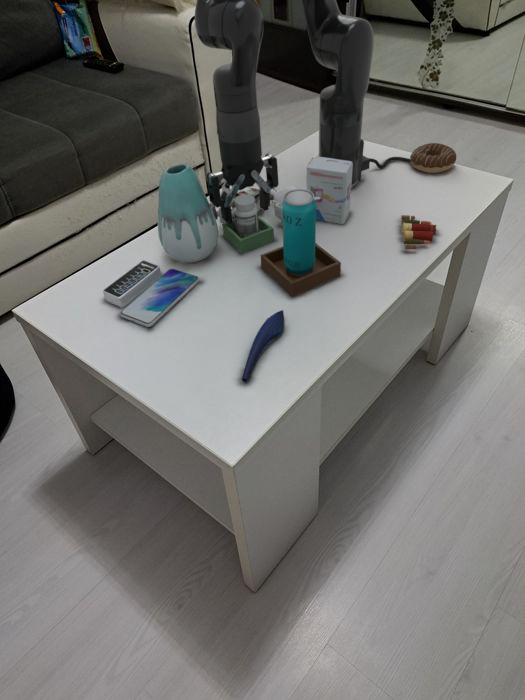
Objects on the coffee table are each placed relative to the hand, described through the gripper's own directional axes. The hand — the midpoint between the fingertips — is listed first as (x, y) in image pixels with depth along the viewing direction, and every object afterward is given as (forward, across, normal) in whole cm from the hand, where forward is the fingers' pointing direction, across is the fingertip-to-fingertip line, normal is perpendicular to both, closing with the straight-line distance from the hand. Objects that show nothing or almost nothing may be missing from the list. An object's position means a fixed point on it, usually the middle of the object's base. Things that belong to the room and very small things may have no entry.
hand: (246, 215), depth 99 cm
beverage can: (+5, +2, -15) cm, 16 cm away
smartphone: (+5, -23, -8) cm, 25 cm away
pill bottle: (+5, 0, 0) cm, 5 cm away
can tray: (+5, +2, -16) cm, 17 cm away
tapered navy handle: (+6, -14, -29) cm, 33 cm away
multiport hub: (+6, -26, -2) cm, 26 cm away
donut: (+6, +52, +1) cm, 52 cm away
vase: (+6, -12, +2) cm, 13 cm away
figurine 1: (+5, +4, +8) cm, 11 cm away
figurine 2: (+6, +10, -1) cm, 12 cm away
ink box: (+6, +18, -3) cm, 19 cm away
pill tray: (+5, 0, 0) cm, 5 cm away
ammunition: (+4, +25, -18) cm, 31 cm away
